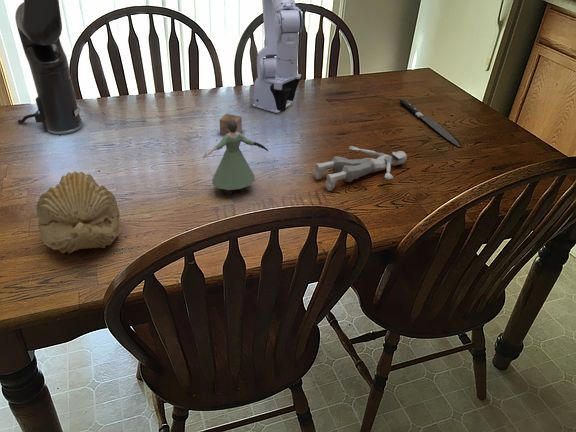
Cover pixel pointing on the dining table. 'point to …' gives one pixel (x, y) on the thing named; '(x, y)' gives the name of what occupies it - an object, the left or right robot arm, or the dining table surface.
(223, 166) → the character figurine
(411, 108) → the knife
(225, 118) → the brown cube-like block
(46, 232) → the fossil
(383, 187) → the dining table surface
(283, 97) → the right robot arm
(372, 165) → the figurine
